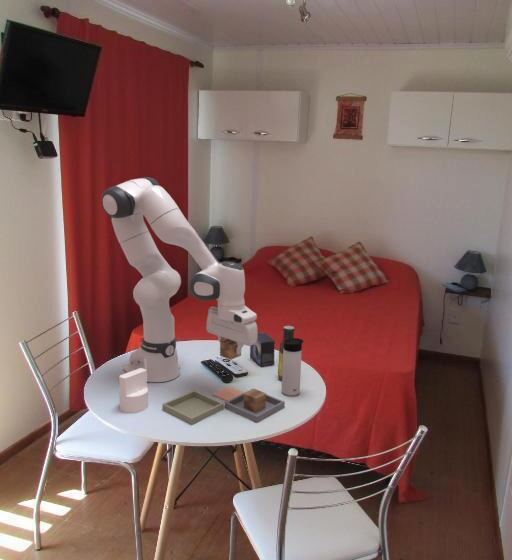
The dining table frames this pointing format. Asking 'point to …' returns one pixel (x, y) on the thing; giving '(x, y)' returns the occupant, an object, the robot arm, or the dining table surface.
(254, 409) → the plain block
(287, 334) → the sauce bottle
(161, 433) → the dining table surface
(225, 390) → the terracotta tile
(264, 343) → the small box
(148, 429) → the dining table surface
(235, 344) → the letter cube
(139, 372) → the cylinder with rectangular tab
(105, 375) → the dining table surface
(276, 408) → the tray charcoal
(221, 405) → the tray olive
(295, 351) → the travel mug
